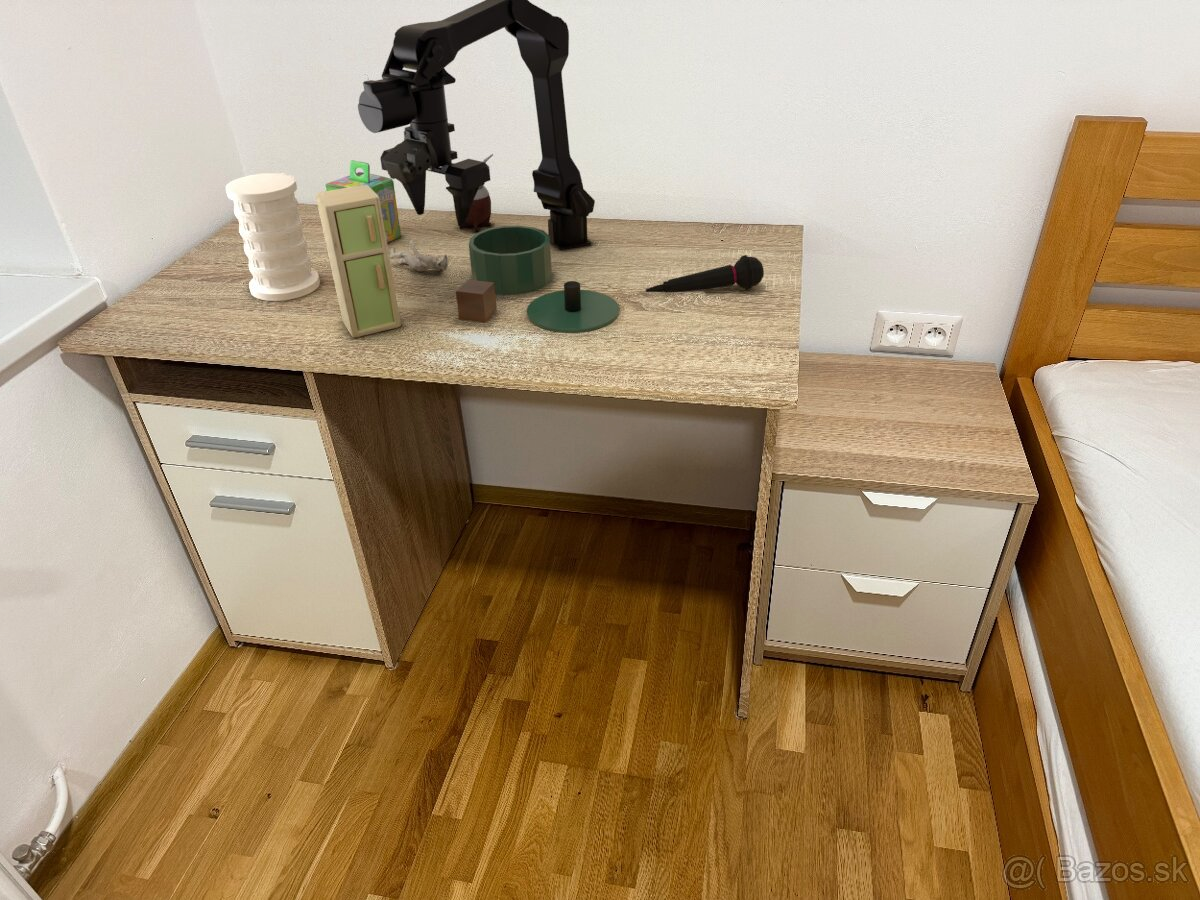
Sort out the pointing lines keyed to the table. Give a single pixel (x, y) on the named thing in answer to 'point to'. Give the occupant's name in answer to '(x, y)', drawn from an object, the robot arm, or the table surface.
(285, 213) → the decorative container
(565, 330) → the lid
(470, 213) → the mate gourd
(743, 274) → the microphone
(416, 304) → the table surface
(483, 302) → the block
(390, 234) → the chalk box
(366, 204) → the toy refrigerator
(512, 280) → the tin
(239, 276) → the table surface
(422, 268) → the soldier figure
